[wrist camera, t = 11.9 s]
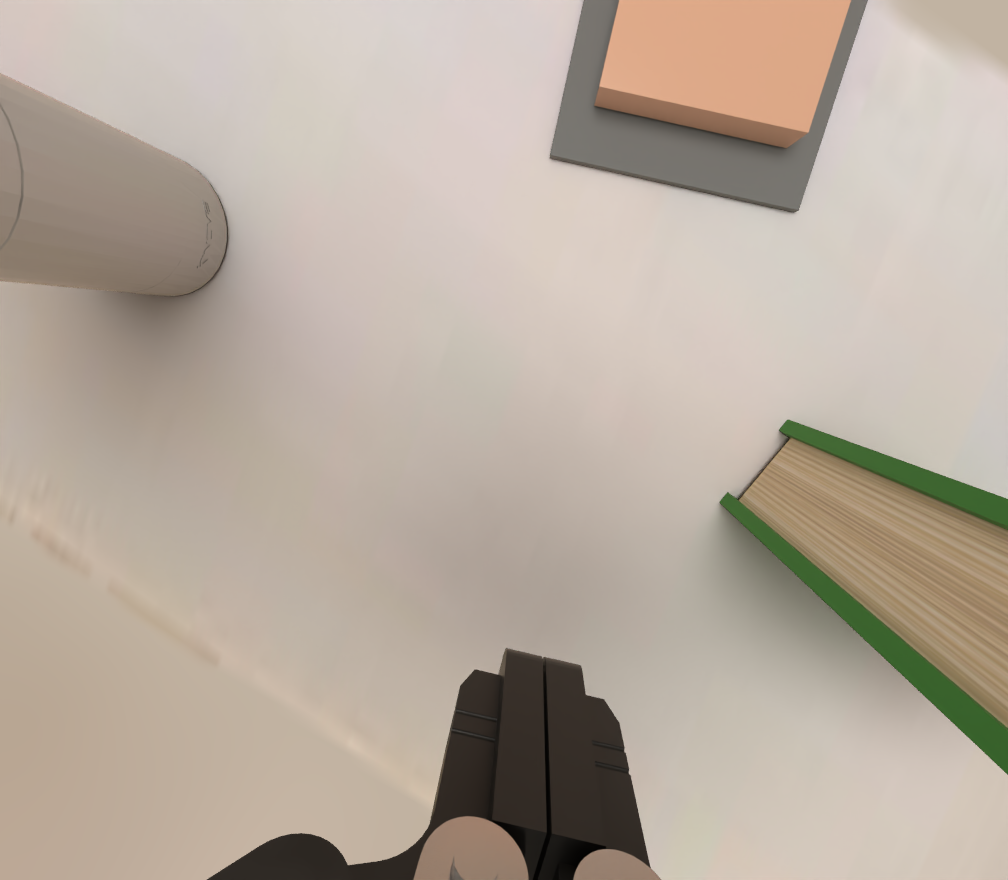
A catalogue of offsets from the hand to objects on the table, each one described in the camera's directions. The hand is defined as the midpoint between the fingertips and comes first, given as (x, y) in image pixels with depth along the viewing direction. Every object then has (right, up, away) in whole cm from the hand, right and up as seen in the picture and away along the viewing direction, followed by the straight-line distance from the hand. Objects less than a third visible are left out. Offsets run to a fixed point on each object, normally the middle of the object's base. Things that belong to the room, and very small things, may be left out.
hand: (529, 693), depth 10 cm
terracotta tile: (+11, +24, +20) cm, 33 cm away
